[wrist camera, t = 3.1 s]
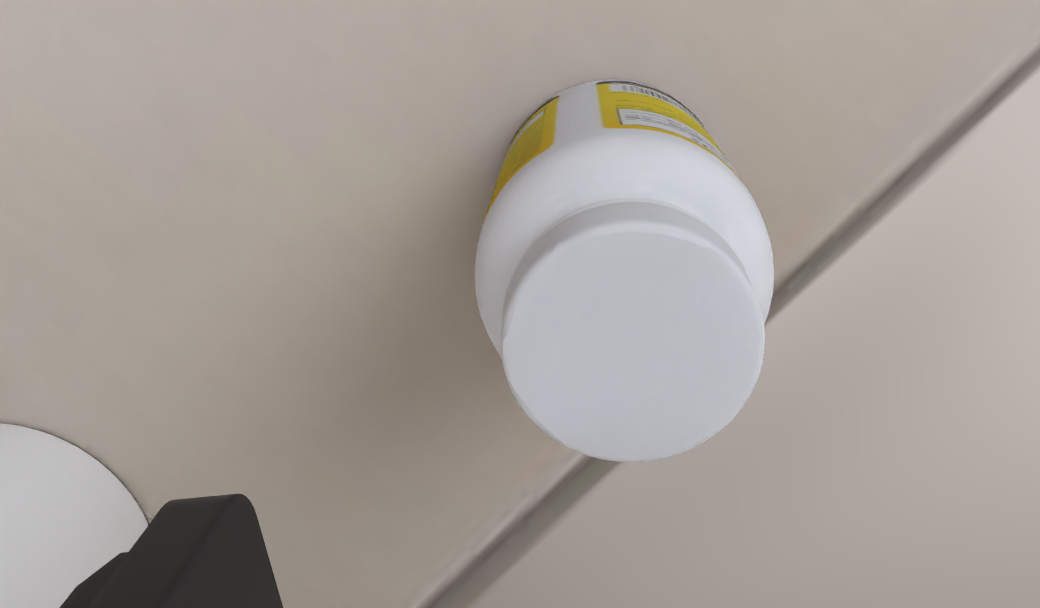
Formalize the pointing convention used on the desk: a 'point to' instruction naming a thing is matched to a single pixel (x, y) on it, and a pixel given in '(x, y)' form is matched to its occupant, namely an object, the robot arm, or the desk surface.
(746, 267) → the supplement bottle
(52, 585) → the cup
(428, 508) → the desk surface
